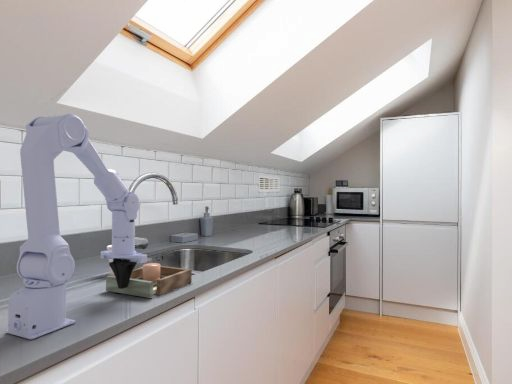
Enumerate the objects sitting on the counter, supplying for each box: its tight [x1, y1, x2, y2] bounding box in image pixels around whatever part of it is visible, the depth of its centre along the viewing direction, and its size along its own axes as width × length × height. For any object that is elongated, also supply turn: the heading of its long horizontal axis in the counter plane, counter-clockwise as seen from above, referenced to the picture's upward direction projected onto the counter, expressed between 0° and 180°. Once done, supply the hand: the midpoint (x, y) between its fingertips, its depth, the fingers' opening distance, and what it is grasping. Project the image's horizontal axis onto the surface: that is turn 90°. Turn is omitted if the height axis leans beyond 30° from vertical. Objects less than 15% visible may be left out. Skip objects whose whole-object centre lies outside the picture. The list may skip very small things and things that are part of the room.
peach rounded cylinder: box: [142, 262, 161, 284], centre depth 101 cm, size 5×5×5 cm
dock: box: [130, 265, 193, 296], centre depth 102 cm, size 15×16×4 cm
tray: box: [105, 274, 167, 299], centre depth 99 cm, size 15×16×4 cm
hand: (123, 287), depth 90 cm, fingers closed, pressing on tray
